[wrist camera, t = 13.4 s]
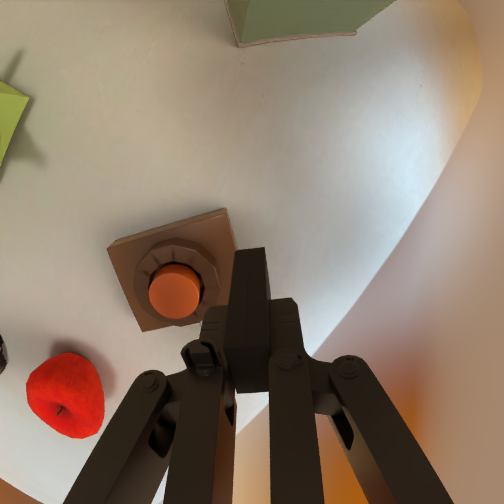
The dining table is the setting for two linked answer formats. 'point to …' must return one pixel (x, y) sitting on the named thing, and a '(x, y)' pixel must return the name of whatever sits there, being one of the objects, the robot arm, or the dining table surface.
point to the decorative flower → (2, 357)
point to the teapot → (9, 114)
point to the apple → (67, 395)
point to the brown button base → (177, 252)
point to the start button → (175, 291)
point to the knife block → (298, 18)
